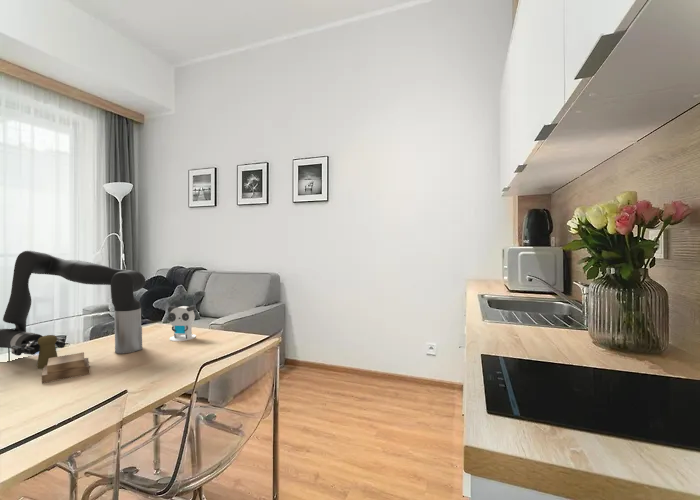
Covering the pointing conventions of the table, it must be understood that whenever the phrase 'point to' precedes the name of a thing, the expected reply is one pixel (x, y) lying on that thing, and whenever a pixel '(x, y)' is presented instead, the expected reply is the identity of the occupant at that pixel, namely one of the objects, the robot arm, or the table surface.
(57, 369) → the walnut stand
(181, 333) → the panda figurine
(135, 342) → the robot arm
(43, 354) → the cork
